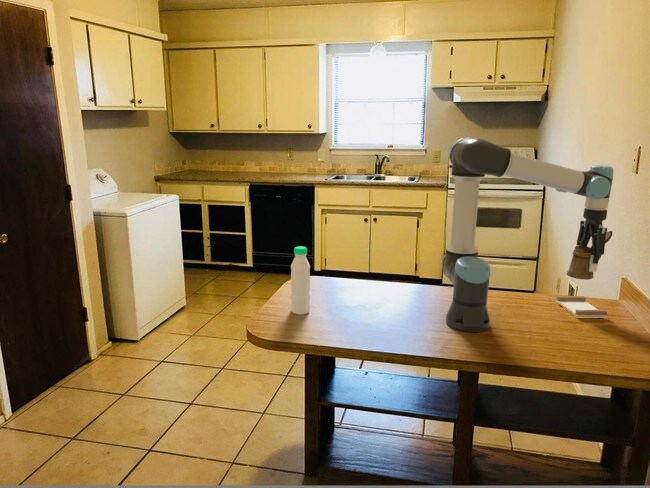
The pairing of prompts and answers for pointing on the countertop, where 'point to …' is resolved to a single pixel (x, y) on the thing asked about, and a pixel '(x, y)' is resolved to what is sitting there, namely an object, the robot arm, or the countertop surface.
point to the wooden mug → (583, 261)
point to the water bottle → (300, 282)
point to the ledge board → (580, 307)
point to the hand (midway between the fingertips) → (586, 268)
